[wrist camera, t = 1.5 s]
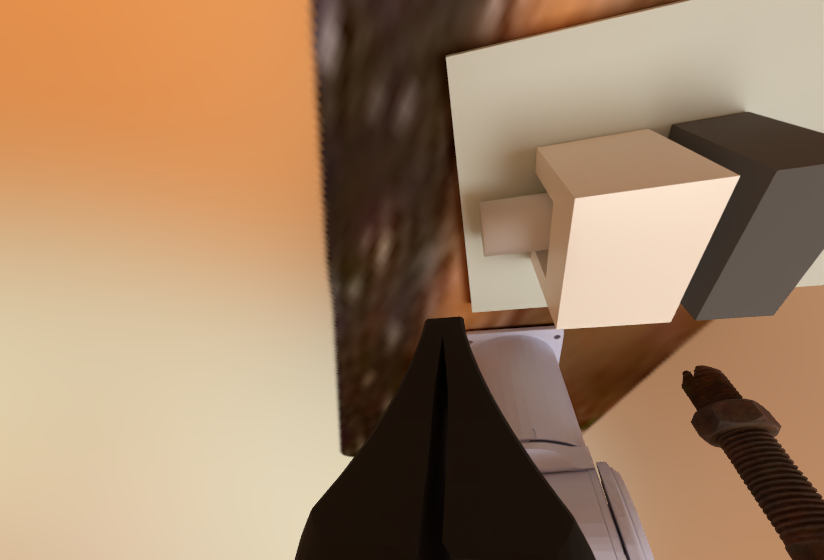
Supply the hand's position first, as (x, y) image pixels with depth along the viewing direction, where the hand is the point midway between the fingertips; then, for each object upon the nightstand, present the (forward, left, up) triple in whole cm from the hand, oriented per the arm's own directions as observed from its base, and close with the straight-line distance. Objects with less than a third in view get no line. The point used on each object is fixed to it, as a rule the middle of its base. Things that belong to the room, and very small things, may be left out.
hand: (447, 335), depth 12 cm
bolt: (-19, -20, -10) cm, 29 cm away
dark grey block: (0, -13, -9) cm, 15 cm away
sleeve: (0, -8, -9) cm, 12 cm away
